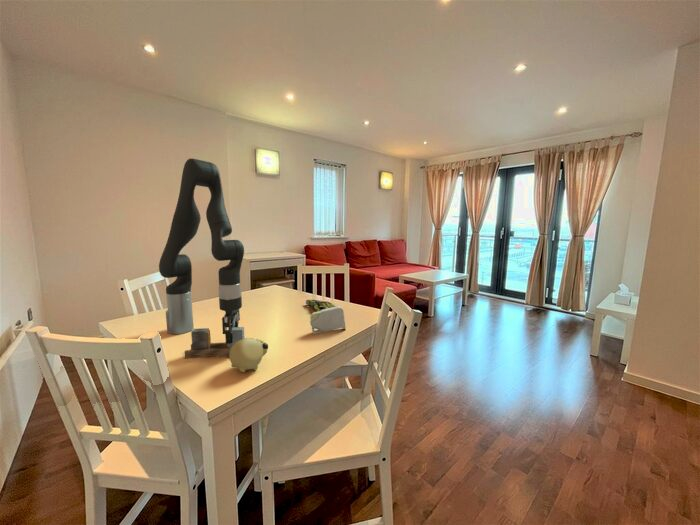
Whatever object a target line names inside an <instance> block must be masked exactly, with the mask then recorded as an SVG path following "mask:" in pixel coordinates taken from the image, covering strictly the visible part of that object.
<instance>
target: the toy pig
mask: <svg viewBox="0 0 700 525" xmlns="http://www.w3.org/2000/svg"><path fill="white" fill-rule="evenodd" d="M268 349H269V344H268V343H266V342H265V341H264V340H262V339H258V338H256V339H255V338H254V337H247V338H245V337H244V339H242V340H239V341H238V342H236V343H235V344H234V345H233V346H232V347H231V349H230V353H229V361H230V363H231V364H230V366H231V367H232V368H235V369H238V370H239V371H240V372H241V373H245V371H248V370H252V369H253V370H254V371H257V370H258V368H259V364H260V363H261V361H262V360H263V359H262V358H263V357H264V356H265V355H266V354H267V353H268Z"/></svg>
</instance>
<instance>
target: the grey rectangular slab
mask: <svg viewBox="0 0 700 525" xmlns="http://www.w3.org/2000/svg"><path fill="white" fill-rule="evenodd" d="M335 306H336V305H335ZM320 310H321V311H314V312H312V313H311V314H310V315H309V316H310V320H309V323H310V324H309V325H310V326H311V331H312V333H313V334H315V335H317V334H320V333H323V332H324V333H325V332H331V331H334V330H338V329H343V328H344V329H346V330H347V328H346V321H345V312H344V309H343V308H342V306H339V305H337V306H336V307H332V308H328V307H327V309H325V308H324V309H320ZM315 329H316V330H315ZM344 329H343V330H344Z"/></svg>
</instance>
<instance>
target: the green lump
mask: <svg viewBox="0 0 700 525" xmlns="http://www.w3.org/2000/svg"><path fill="white" fill-rule="evenodd" d="M305 304H306V305H308V306H309V305H310V306H311V307H313V308H314V310H316V312H318V311H321V310H322V309H321V308H319V307H323V308H324V309H327V308H332V307H336V305H335V304H333V303H331V302H330V301H326V300H319V299H306V300H305Z"/></svg>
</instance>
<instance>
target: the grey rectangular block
mask: <svg viewBox="0 0 700 525" xmlns="http://www.w3.org/2000/svg"><path fill="white" fill-rule="evenodd" d="M227 330H229V329H228V328H227ZM232 336H233V342H232V343H231V344H227V345H228V347H229V348H231V347H232V346H233V345H234V344H235V343H236V342H238V341H239V340H242V339H245V326H238V327H233V332H232Z"/></svg>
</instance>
